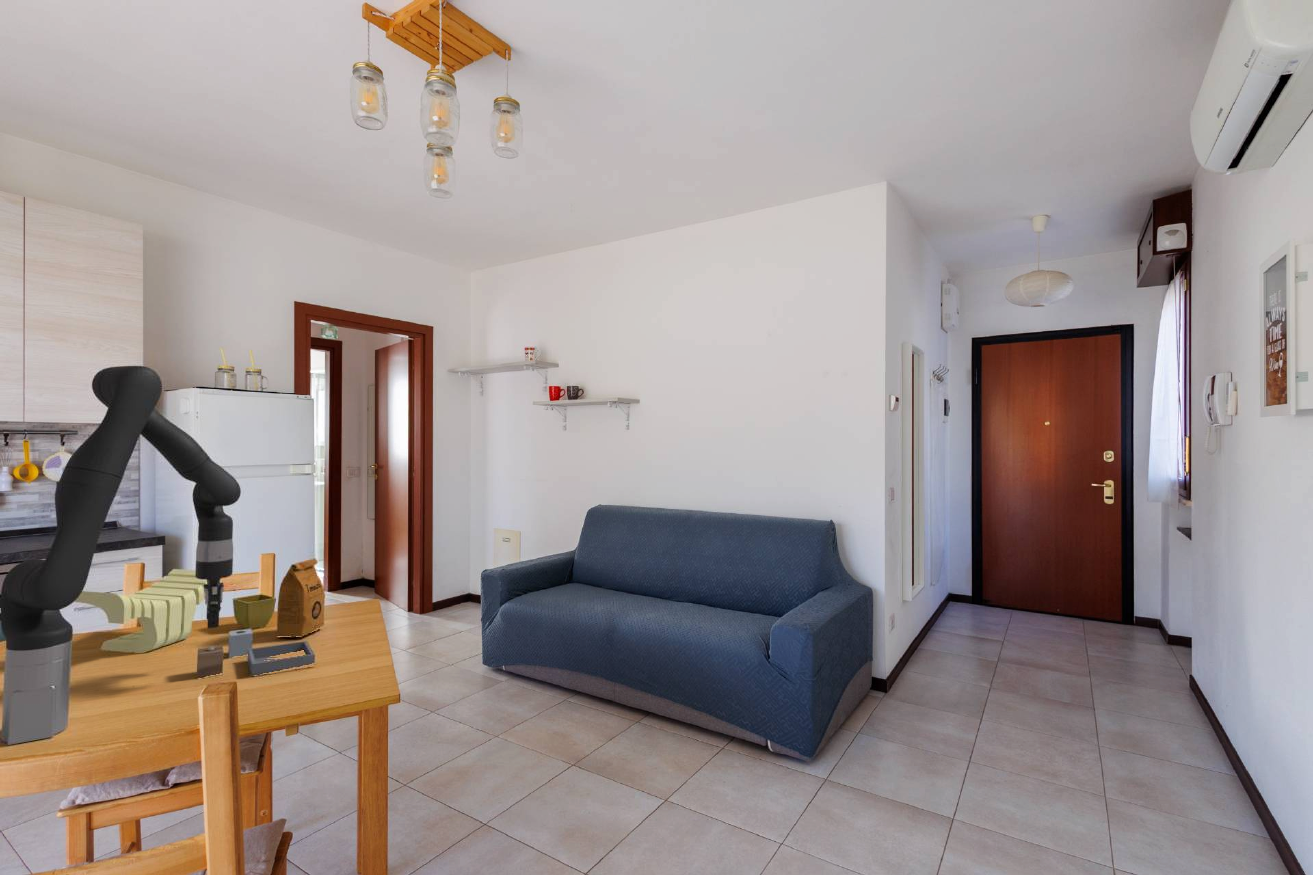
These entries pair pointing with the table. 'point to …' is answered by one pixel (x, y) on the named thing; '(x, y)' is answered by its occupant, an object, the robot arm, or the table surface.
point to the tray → (262, 653)
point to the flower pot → (253, 610)
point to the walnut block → (209, 661)
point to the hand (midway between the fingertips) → (212, 623)
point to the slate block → (239, 642)
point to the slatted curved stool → (152, 611)
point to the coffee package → (300, 601)
